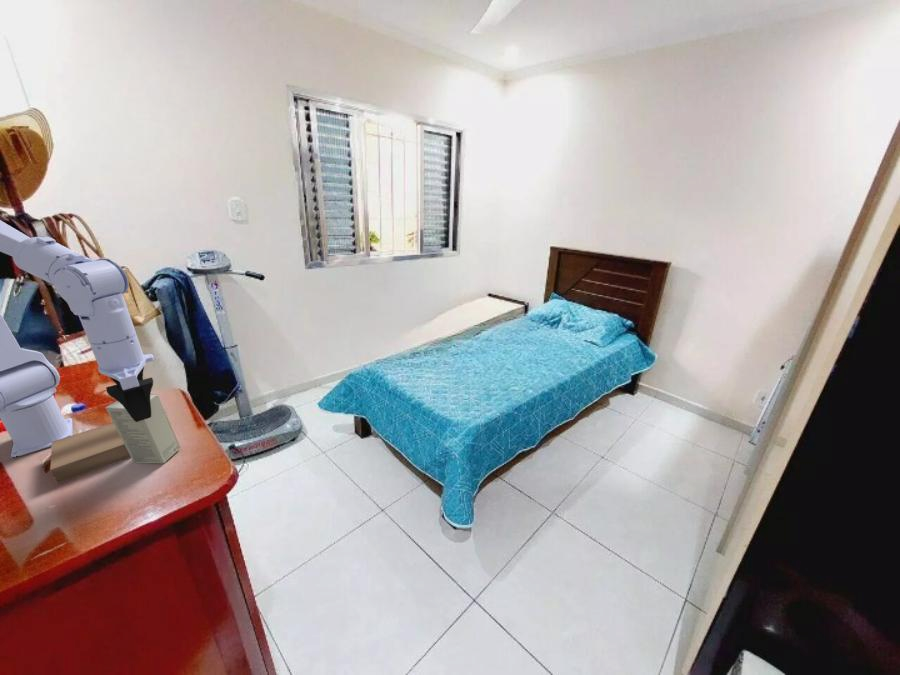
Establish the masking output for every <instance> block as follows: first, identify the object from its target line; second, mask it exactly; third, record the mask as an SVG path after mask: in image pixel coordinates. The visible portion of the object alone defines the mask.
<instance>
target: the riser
mask: <svg viewBox="0 0 900 675" xmlns="http://www.w3.org/2000/svg"><path fill="white" fill-rule="evenodd" d="M50 451H51V453H50V468H49V469H50V470H49V471H50V472H51V474H52V476H53V478H54V480H55V482H56V484H57V485H59V484H62V483H65V482H67V481H69V480H72V479H75V478H79V477H81V476H84V475H86V474H89V473H91V472H94V471H97V470H100V469H102V468H104V467H107V466H110V465H113V464H116V463H118V462H122V461H124V460H126V459H129V458H131V456H130V454H129V452H128V450H127V448H126V446H125V444H124V443H123V441H122V439H121V437H120V435H119V433H118V431H117V429H116V427H115V425H114V423H113V422H110V423H107V424H104V425H100V426H98V427H95V428H91V429H89V430H84V431H82V432H79V433H75V434H73V435H72V436H68V437H65V438H62V439H59V440H56V441H52V446H51V450H50Z"/></svg>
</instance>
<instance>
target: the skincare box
mask: <svg viewBox="0 0 900 675" xmlns="http://www.w3.org/2000/svg"><path fill="white" fill-rule="evenodd" d="M150 403H151V417H150V418H147V419H144V420H141V421H138V422H135V421H134V420H133V418H132V417H131V416H130V415H129V413H128V412H127V410H126V409H125V408H124V406H123V405H122V404H121V403H120V402H118V401H117V400H116V399H115V401H114V402H112V403H110V404H108V405H107V406H105V410H106V412H107V414H108V416H109V417H110V419H111V421H112V423H114V425H115V427H116V429H117V431H118V433H119V435H120V437H121V439H122V441H123V443H124V444H125V446H126V448H127V450H128V452H129V454H130V456H131V457H130V458H131V459H132V462H133V463H139V464H140V463H141V464H142V463H143V464H165V463H166V462H167V461H168V460H169V459H171V457H173V456H174V455H175V454H176V453H177V452H178V451H179V450H180V449H181V448H182V447H181V445H180V442H179V440H178V438H177V435H176V433H175V431H174V428H173V426H172V425H171V424H172V423H171V422H170V420H169V417H168V414H167V413H166V411H165V408H164V406H163V404H162V401H161V398H160V396H159V394H158V393H157V394H156V393H155V394H153V393H152V394H150Z"/></svg>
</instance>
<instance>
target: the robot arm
mask: <svg viewBox="0 0 900 675" xmlns="http://www.w3.org/2000/svg"><path fill="white" fill-rule="evenodd" d="M0 252H1V253H3V254H5V255H8V256H10V257H12V261H13V263H14V264H15V266H16V267H17V268H19V269H20V270H22V271H24V272H26V273H29V274H30V275H32V276H35V277H37V278H38V279H40V280H42V281H45V282H47V283H49V284H51V285H52V286H53V288H54V289H55V291H56V292H57V294H58V295H59V296H60V297H61V298H62V299H63V300H64V301H65V302H66V303H67V305H68V307H69V309H70V311H71V312H72V313H73V315H75V316H77V317H79V321H80V322H81V326H82V328H83V330H84V333H85V336H86V338H87V340H88V343H89V345H90V348H91V351H92V354H93V355H94V358H95V361H96V364H97V365H98V366H97V370H98V373H100V374H101V375H103V376H106V377H108V378H110V379H111V380H112V381H113V382H114V383H115V384H113V385H110V386H106V387H105V388H106V393H107V394H108V395H109V396H110V397H111V398H112V399H114V400H115V401H116V400H117V401H118V402H120V403H121V404H122V405H123V406H124V408H125V409H126V410H127V412H128V413H129V415H130V416H131V417H132V418H133V420H134V421H135V422H138V421H141V420H144V419H147V418H150V417H151V403H150V394H151V392H152V390H153V386H154V379H153V377H148V378H144V377H143V376H144V370H145V366H146V364H147V363H149V362H153V361H155V357H154V355H153V354H152V353H148V354H144V352H143V349H142V347H141V344H140V340H139V338H138V334H137V332H136V329H135V326H134V323H133V321H132V317H131V314H130V311H129V309H128V308H129V307H128V306H127V305H128V304H127V303H126V300H125V296H124V294H125V293H126V292H127V291H128V289H129V286H130V282H129V277H128V275H127V274H126V272H125V269H123V268H122V266H120V265H119V264H118V263H117V262H115V261H113V260H112V259H111V258H107V257H104V258H103V257H102V258H93V257H92V258H89V257H87V256H85V255H84V254H82V253H80V252H77V251H75V250H72V249H70V248H69V247H67V246H64V245H63V244H60V243H58V242H56V239H54V238H52V237H50V236H42V237H41V236H33V237H30V236H28V235H27V234H24V233H23V232H21V231H20V230H17V229H16V228H14V227H12V226H11V225H9V224H7V223H6V222H4V221H2V220H1V219H0ZM60 378H61V376H60V373H59V371H58V370H57V368H56V367H55V365H53V364H52V363H50V362H49V360H48V359H47V358H46V356H45V354H43V353H42V352H41V351H37V350H31V349H26V348H21V347H20V345H19V342H18V340H17V339H16V338H15V336H14V334H13V332H12V330H11V329H10V327H9V325H8V324H7V322H6V320H5V318H4V317H3V315H2V314H1V312H0V420H1V423H2V424H3V426H4V428H5V430H6V431H7V433H8V435H9V437H10V439H11V441H12V443H13V444H12V449H11V454H10V458H12V457H15V458H17V457H16V456H18V457H21V456H24V455H28V454H31V453H34V452H38V451H40V450H43V449H46V448H50V447H52V441H56V440H59V439H62V438H65V437H68V436H72V435H74V434H73V431H74V430H73V418H71V417H69V418H65V417H64V415H63V413H62V411H61V409H60V407H59V404H58V402H57V400H56V398H55V396H54V394H55V393H57V392H58V391H57V389H56V387H57V386H59V384H60V381H61V379H60Z"/></svg>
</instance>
